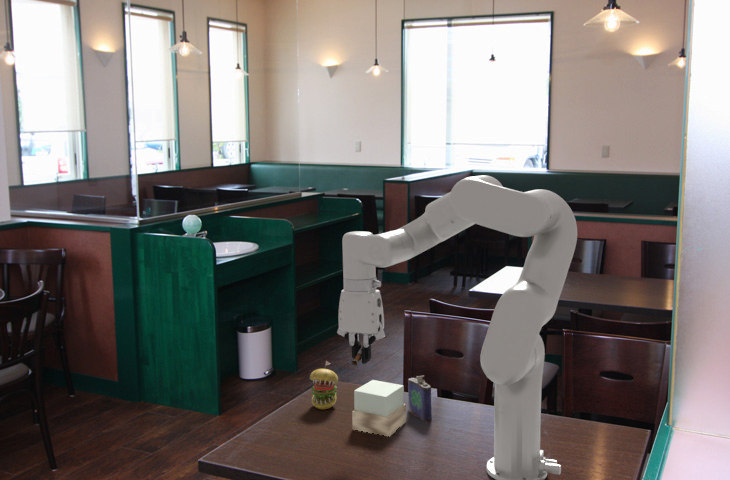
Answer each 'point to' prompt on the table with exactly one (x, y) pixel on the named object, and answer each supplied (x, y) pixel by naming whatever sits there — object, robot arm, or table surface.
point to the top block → (379, 398)
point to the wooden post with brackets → (356, 359)
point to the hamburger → (324, 388)
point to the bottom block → (379, 421)
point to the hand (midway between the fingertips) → (361, 361)
